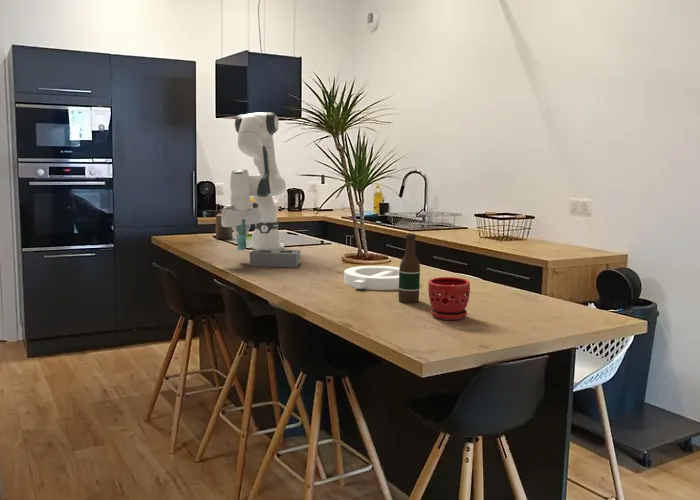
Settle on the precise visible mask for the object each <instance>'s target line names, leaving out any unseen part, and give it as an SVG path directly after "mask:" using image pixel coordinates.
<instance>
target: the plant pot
mask: <svg viewBox="0 0 700 500" xmlns="http://www.w3.org/2000/svg"><path fill="white" fill-rule="evenodd" d="M470 284H471V282H470V281H469V280H468V279H466V278H462V277H454V276H452V277H451V276H448V277H447V276H445V277H444V276H443V277H440V276H439V277H434V278H431V279H429V280H428V290H427V291H428V299H429V303H430V306H431V307H432V308H431V309H430V313H431V315H432V316H433V317H434V318H437V319H439V320H445V321H454V320H455V321H458V320H461V319H464V318H465V317H466V316H467V314H468V311H467V310H466V308H467V306H468V303H469V301H470V295H471V294H470V293H471V292H470V291H471V285H470Z"/></svg>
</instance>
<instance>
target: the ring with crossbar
mask: <svg viewBox="0 0 700 500" xmlns="http://www.w3.org/2000/svg"><path fill="white" fill-rule="evenodd" d="M399 269H400V266H399V267H398V266H391V265H390V266H389V265H359V266H353V267H348V268H346V269H344V271H343V272H344V273H343V274H344V275H343V276H344V278H343V283H344V284H345V285H346V284H347V286H349V287H352V288H353V289H360V290H374V291H376V290H377V291H388V290H389V291H394V290H399Z"/></svg>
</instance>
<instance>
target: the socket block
mask: <svg viewBox="0 0 700 500" xmlns="http://www.w3.org/2000/svg"><path fill="white" fill-rule="evenodd" d="M300 263H301V249H285V248H284V249H253V250H251V252H249V266H250V267H266V268H273V267H274V268H298V266H299V265H300Z"/></svg>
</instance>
